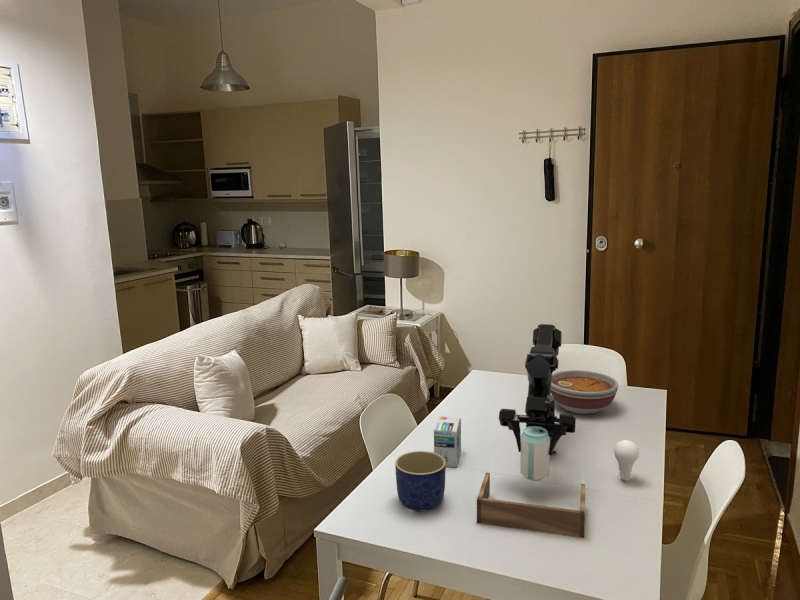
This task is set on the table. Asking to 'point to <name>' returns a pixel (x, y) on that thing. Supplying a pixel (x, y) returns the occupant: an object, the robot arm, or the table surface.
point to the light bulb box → (448, 439)
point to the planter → (420, 480)
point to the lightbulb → (626, 457)
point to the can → (535, 453)
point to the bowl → (583, 390)
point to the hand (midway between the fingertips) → (534, 453)
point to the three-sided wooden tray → (530, 514)
